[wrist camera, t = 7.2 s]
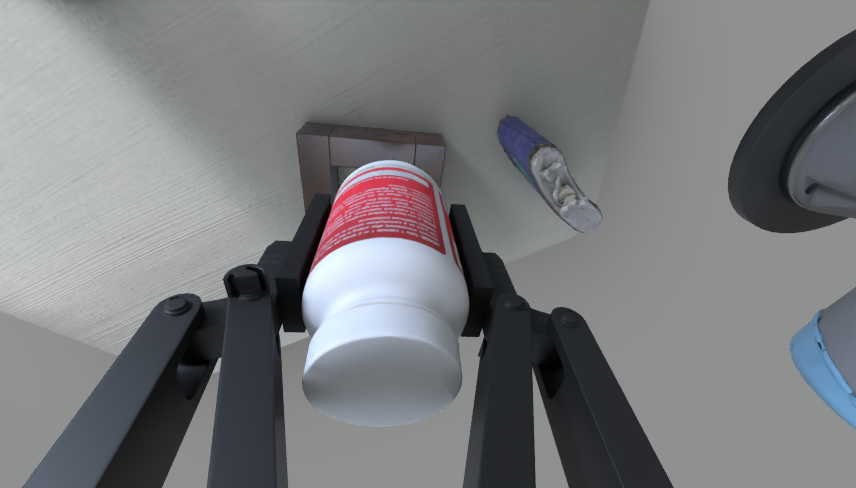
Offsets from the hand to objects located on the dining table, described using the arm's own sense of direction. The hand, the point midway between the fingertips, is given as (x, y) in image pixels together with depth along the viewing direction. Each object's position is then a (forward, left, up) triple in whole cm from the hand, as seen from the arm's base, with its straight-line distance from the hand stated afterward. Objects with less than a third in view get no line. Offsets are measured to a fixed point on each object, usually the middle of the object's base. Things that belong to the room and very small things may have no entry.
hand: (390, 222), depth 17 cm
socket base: (+2, +5, -15) cm, 16 cm away
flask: (-13, 0, -15) cm, 20 cm away
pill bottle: (0, 0, -2) cm, 2 cm away
